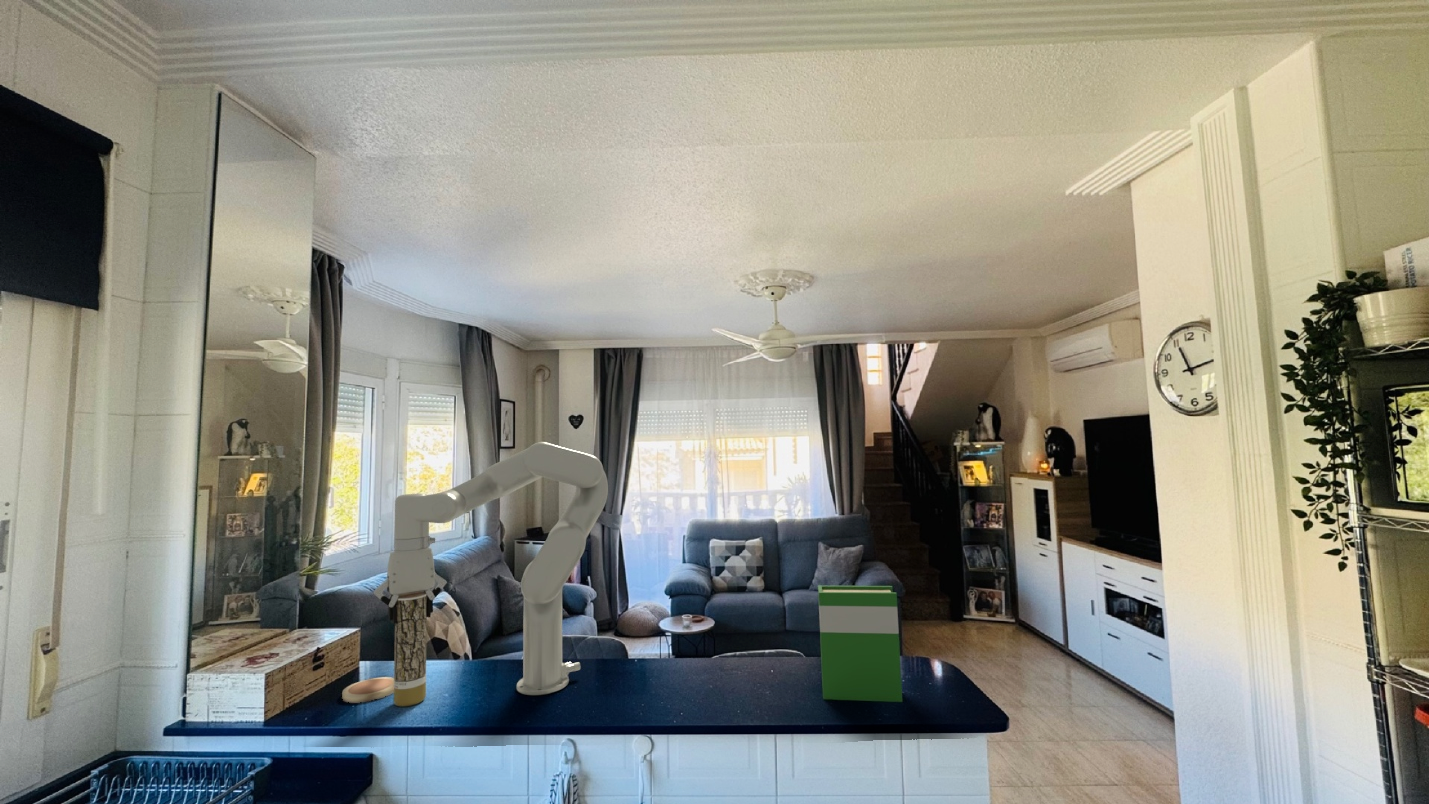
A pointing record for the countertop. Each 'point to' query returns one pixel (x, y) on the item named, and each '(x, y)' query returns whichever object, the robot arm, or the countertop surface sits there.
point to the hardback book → (860, 643)
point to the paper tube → (410, 649)
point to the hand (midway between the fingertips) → (410, 619)
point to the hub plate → (368, 690)
